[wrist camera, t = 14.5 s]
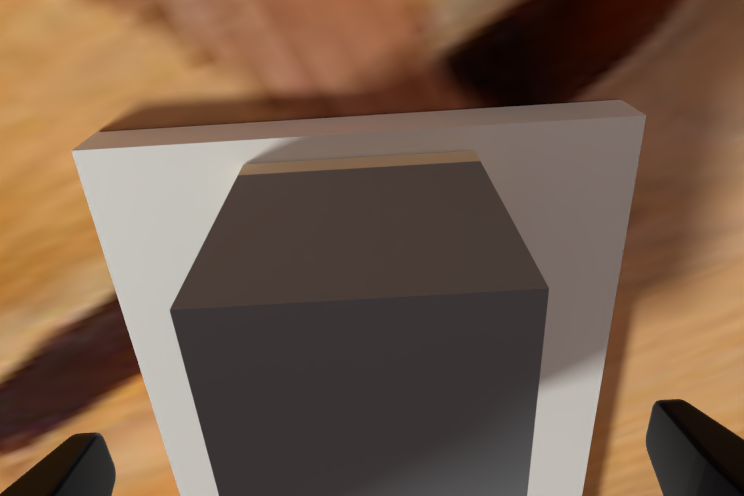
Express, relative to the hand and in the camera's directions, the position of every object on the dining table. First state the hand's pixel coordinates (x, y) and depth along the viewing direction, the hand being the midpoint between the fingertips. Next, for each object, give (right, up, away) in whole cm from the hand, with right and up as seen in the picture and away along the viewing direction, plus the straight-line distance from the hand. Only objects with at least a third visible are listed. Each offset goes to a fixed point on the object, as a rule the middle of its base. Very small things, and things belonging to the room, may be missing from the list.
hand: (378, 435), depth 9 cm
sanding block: (0, +2, +3) cm, 4 cm away
